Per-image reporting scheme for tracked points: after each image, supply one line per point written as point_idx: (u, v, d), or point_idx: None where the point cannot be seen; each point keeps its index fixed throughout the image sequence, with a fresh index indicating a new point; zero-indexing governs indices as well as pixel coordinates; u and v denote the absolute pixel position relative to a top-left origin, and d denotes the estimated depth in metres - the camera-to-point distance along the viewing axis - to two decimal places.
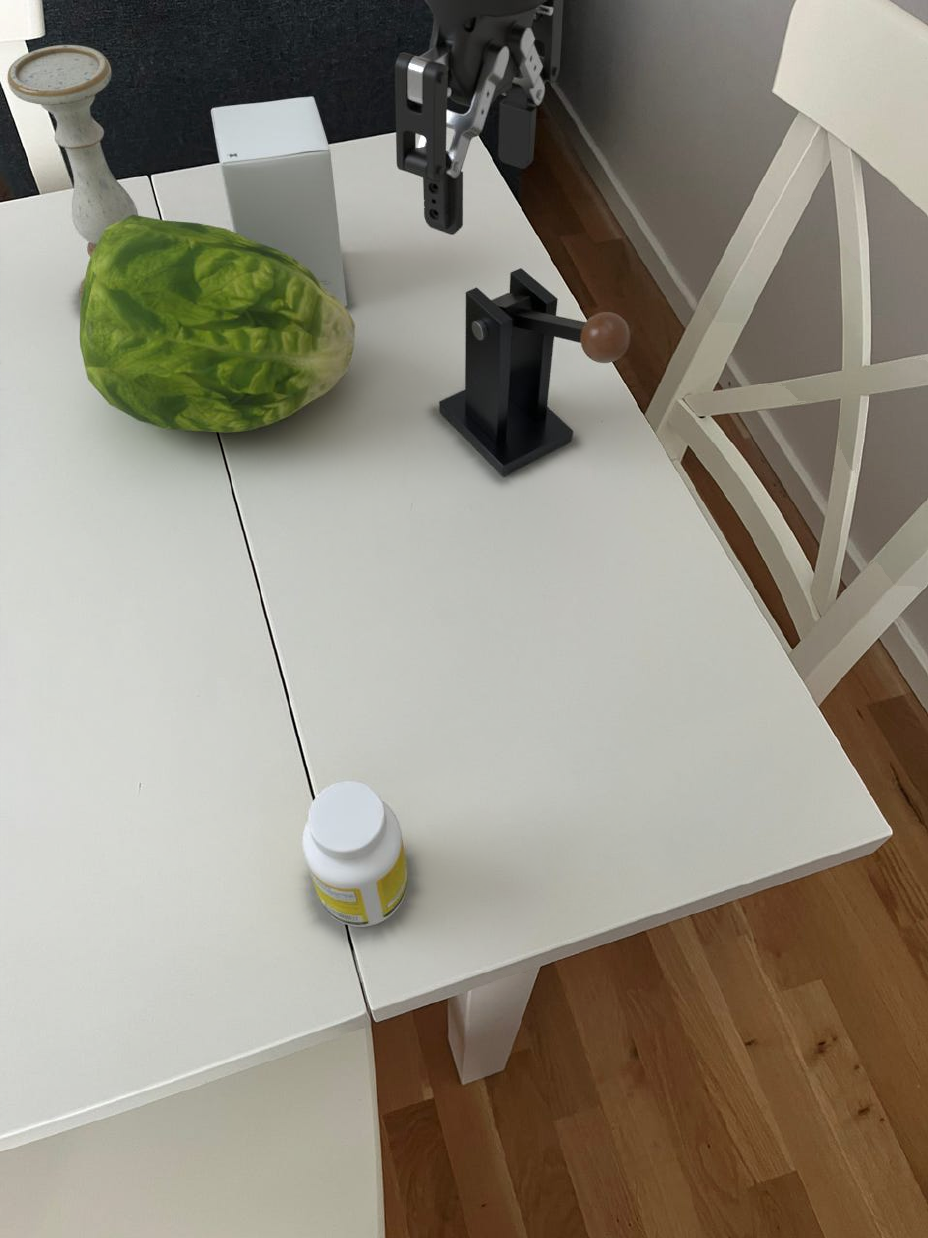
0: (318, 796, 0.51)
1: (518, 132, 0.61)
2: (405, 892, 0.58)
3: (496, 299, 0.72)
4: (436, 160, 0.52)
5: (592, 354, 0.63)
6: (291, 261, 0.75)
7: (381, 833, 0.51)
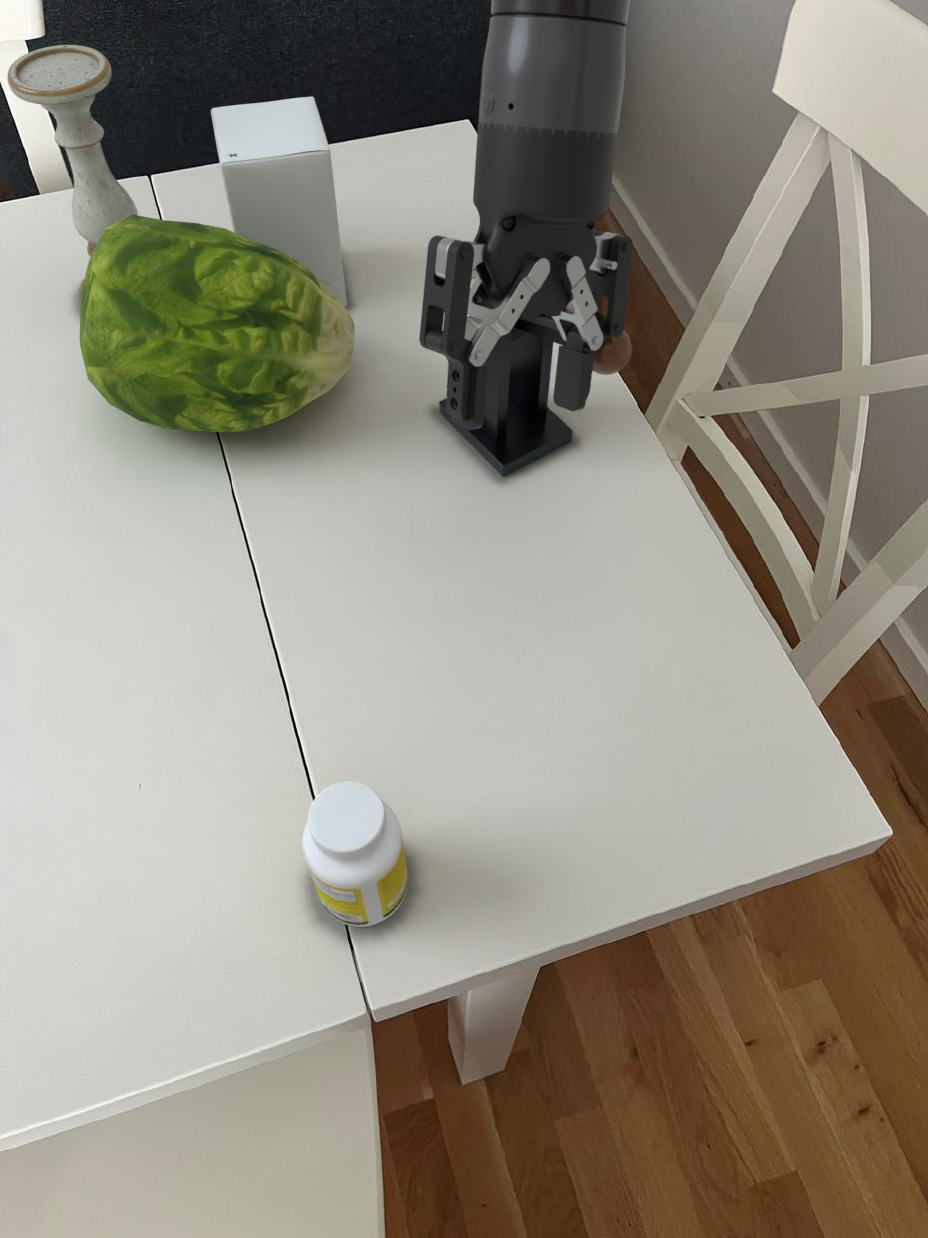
0: (318, 796, 0.51)
1: (572, 374, 0.61)
2: (405, 892, 0.58)
3: None
4: (451, 334, 0.53)
5: (594, 366, 0.64)
6: (291, 261, 0.75)
7: (381, 833, 0.51)
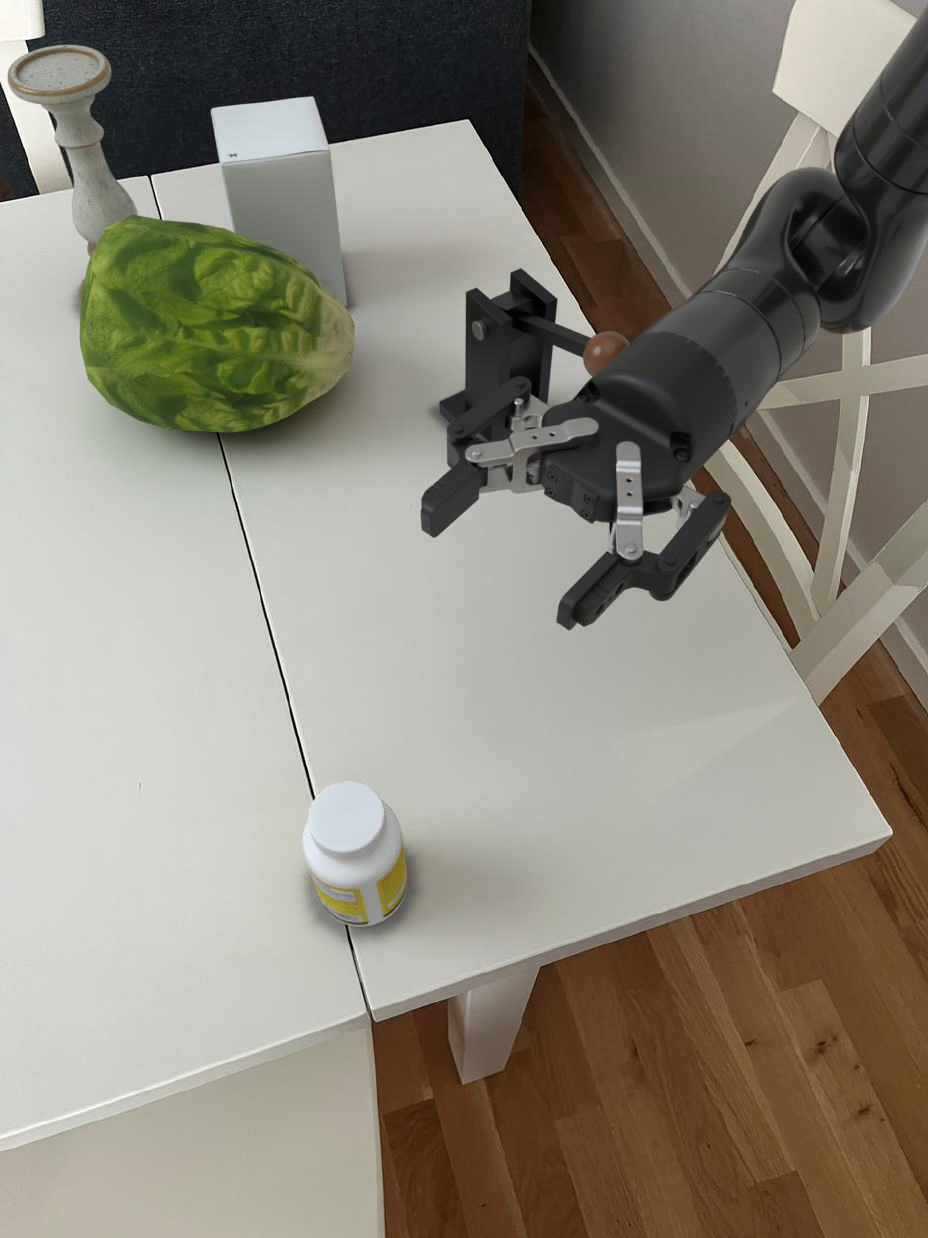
0: (318, 796, 0.51)
1: None
2: (405, 892, 0.58)
3: (497, 298, 0.72)
4: (462, 419, 0.51)
5: (594, 373, 0.64)
6: (291, 261, 0.75)
7: (381, 833, 0.51)
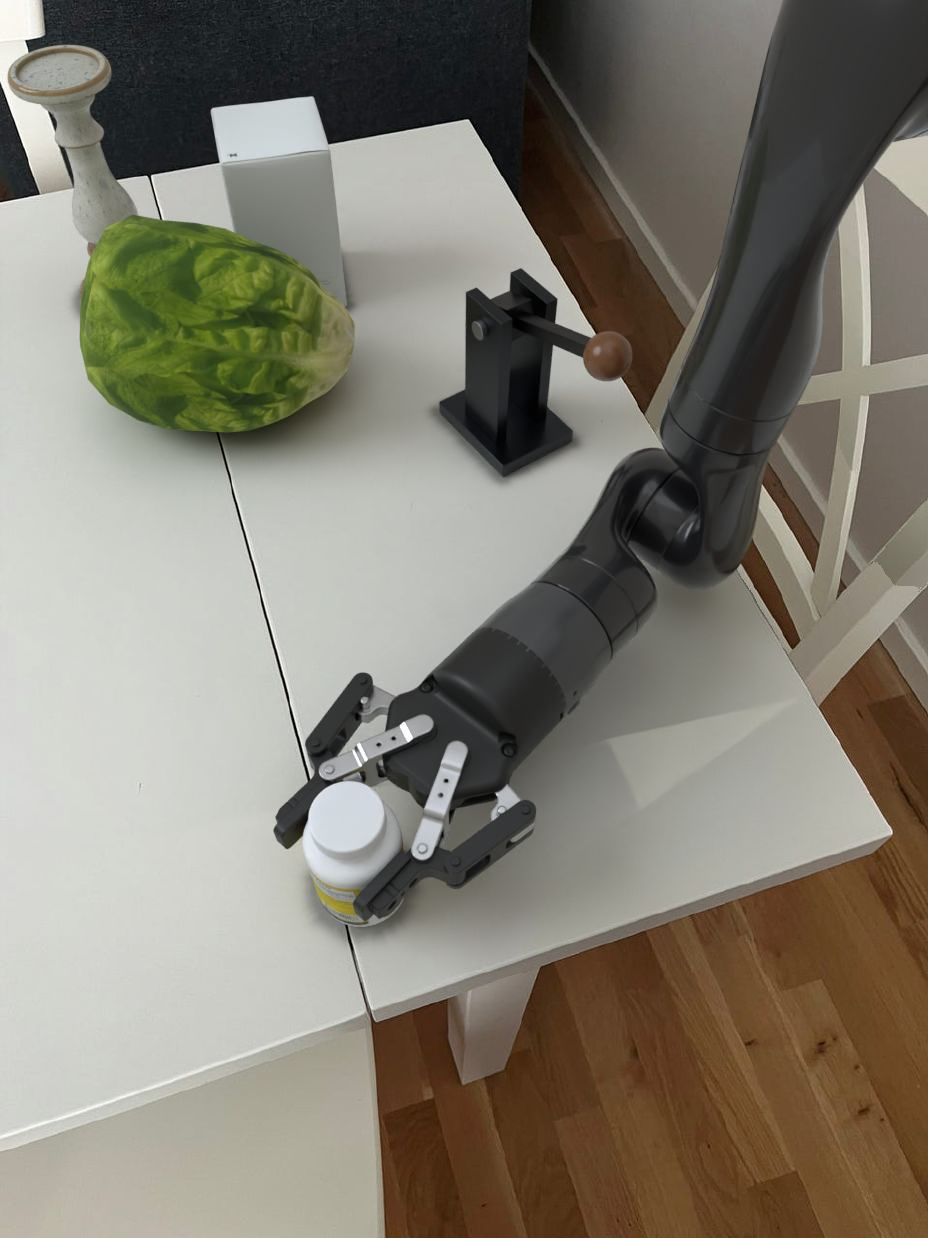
0: (318, 796, 0.51)
1: None
2: None
3: (497, 298, 0.72)
4: (320, 731, 0.56)
5: (594, 373, 0.64)
6: (291, 261, 0.75)
7: (381, 833, 0.51)
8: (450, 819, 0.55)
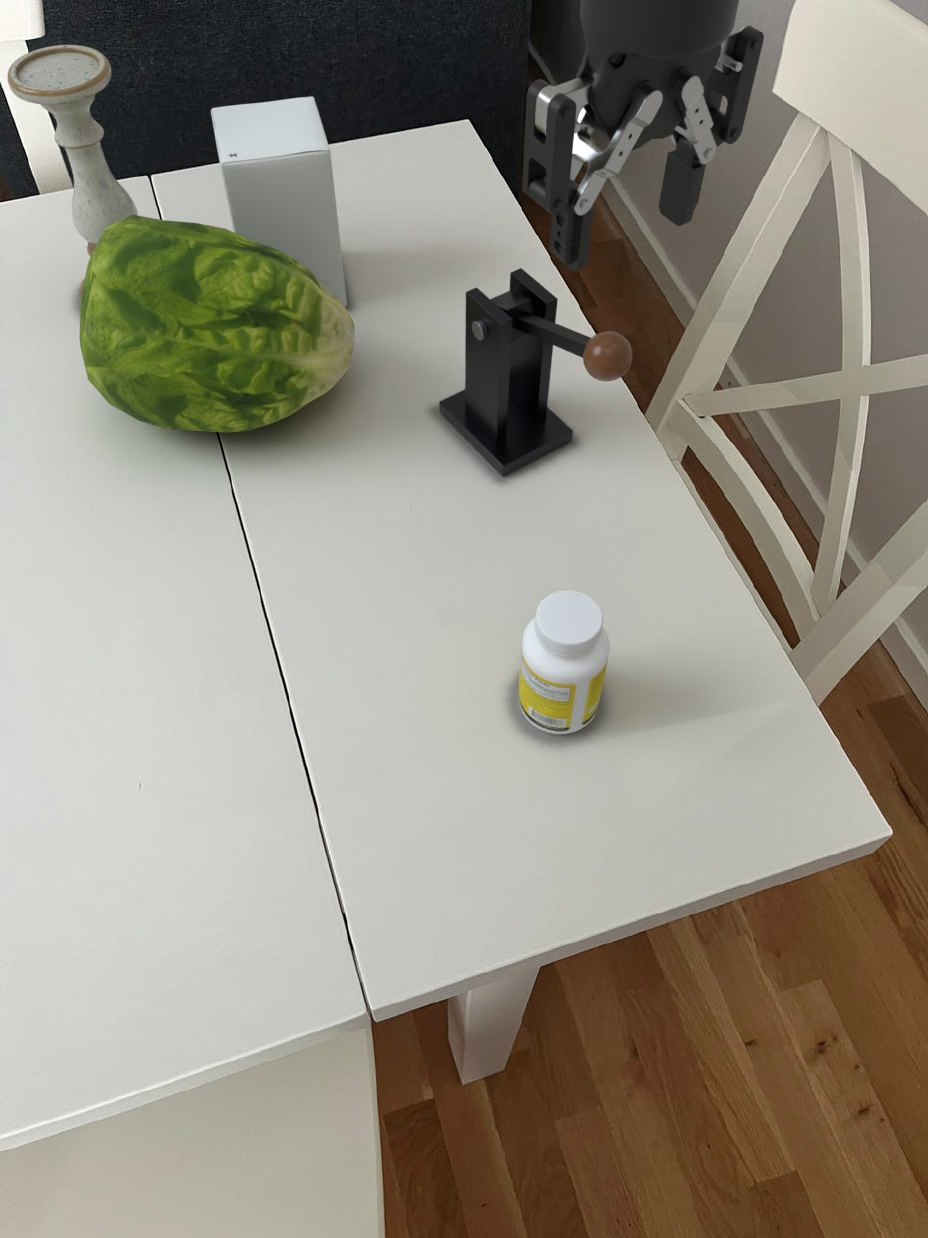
0: (543, 601, 0.59)
1: (679, 187, 0.57)
2: None
3: (497, 298, 0.72)
4: (555, 193, 0.51)
5: (594, 373, 0.64)
6: (291, 261, 0.75)
7: (600, 631, 0.58)
8: None
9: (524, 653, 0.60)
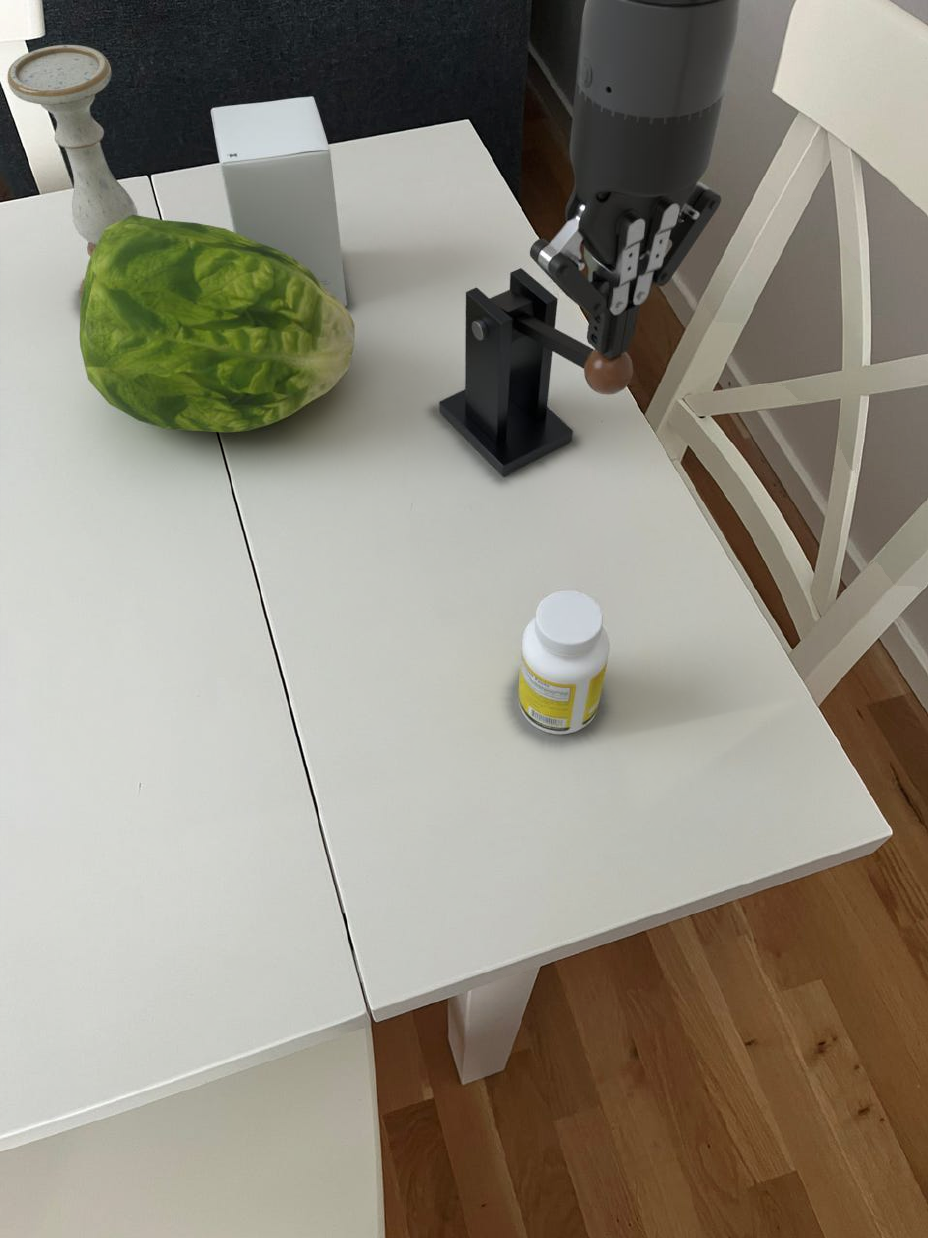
0: (543, 601, 0.59)
1: None
2: (598, 705, 0.65)
3: (497, 297, 0.72)
4: (595, 299, 0.58)
5: (595, 387, 0.65)
6: (291, 261, 0.75)
7: (600, 631, 0.58)
8: None
9: (524, 653, 0.60)
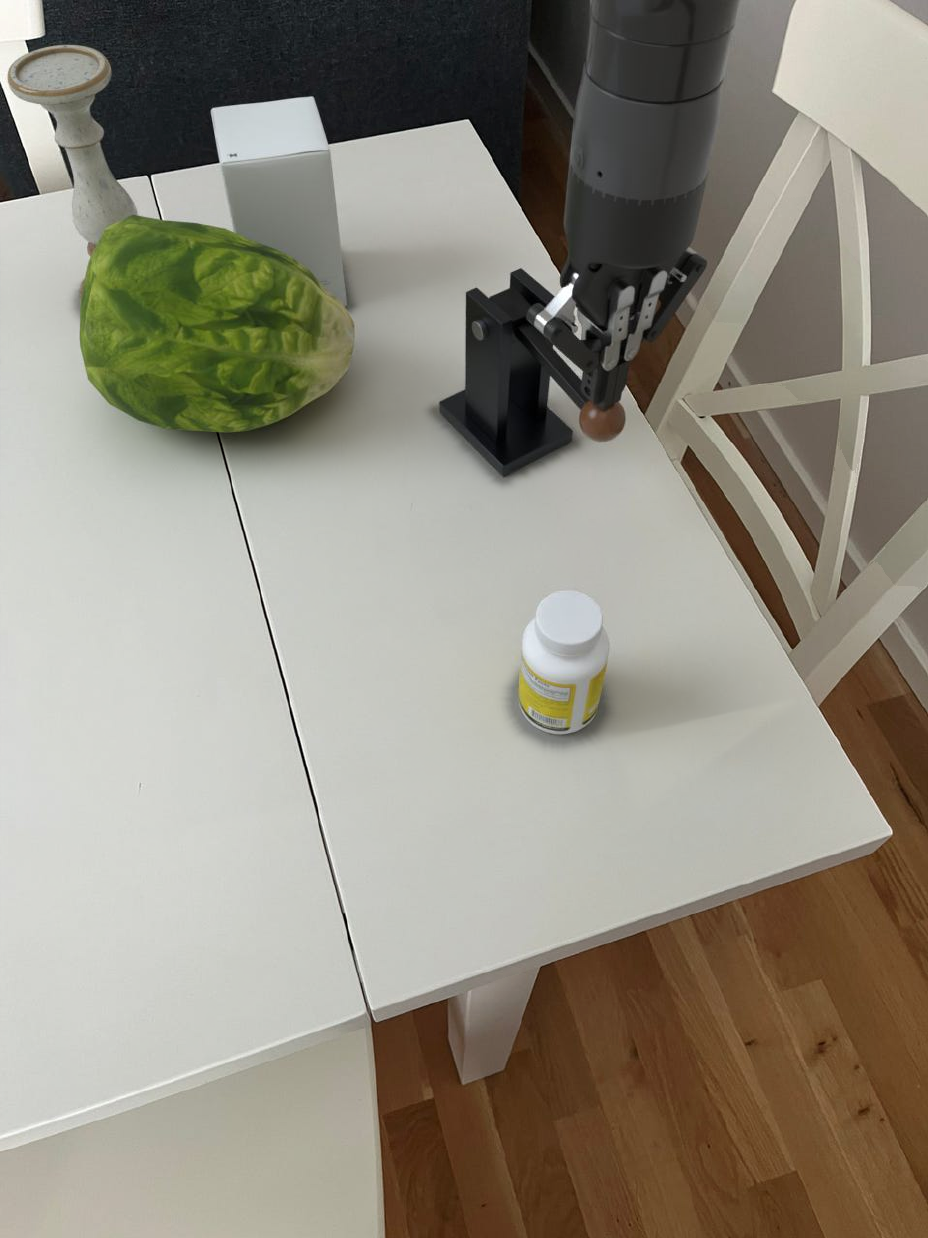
0: (543, 601, 0.59)
1: None
2: None
3: (501, 295, 0.71)
4: (588, 358, 0.61)
5: (587, 435, 0.68)
6: (291, 261, 0.75)
7: (600, 631, 0.58)
8: None
9: (524, 653, 0.60)
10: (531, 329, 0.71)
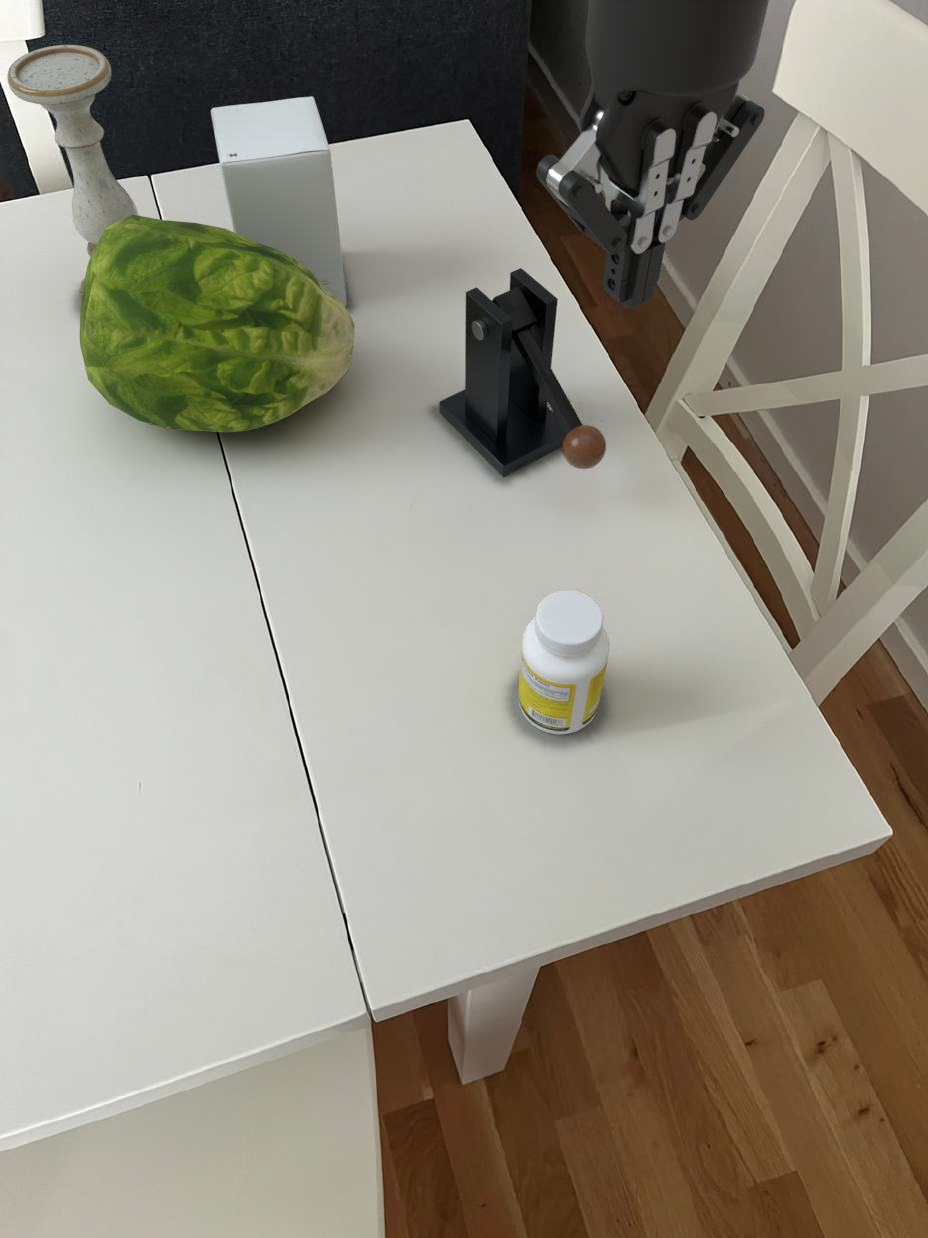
0: (543, 601, 0.59)
1: None
2: None
3: (506, 297, 0.71)
4: (614, 232, 0.48)
5: (568, 461, 0.72)
6: (291, 261, 0.75)
7: (600, 631, 0.58)
8: None
9: (524, 653, 0.60)
10: (529, 338, 0.72)
